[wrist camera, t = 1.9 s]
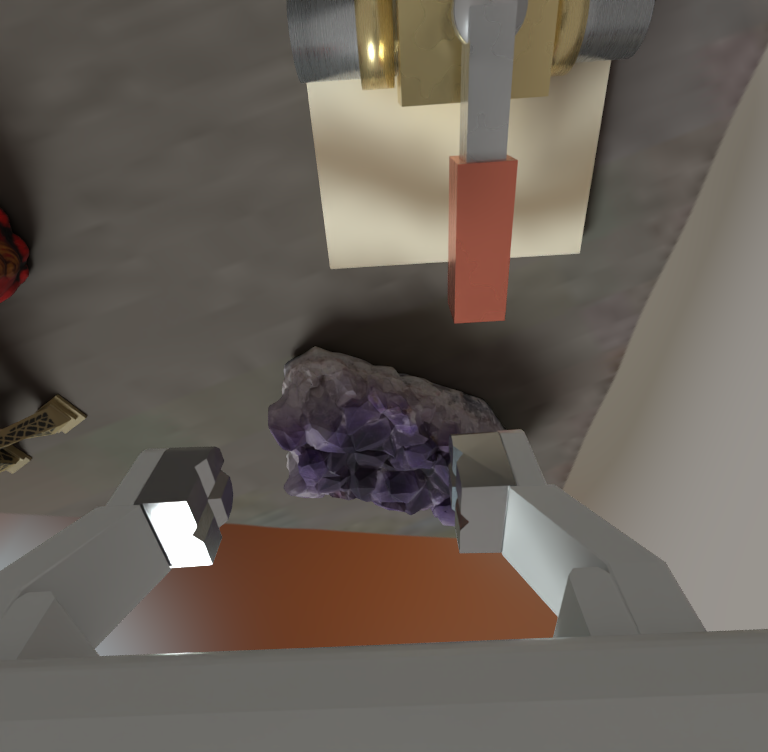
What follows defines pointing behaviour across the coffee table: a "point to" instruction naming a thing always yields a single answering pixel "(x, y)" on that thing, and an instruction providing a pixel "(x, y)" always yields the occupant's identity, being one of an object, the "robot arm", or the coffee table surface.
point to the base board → (431, 168)
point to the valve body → (453, 43)
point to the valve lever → (482, 161)
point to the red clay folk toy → (11, 259)
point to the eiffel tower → (36, 430)
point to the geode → (371, 432)
